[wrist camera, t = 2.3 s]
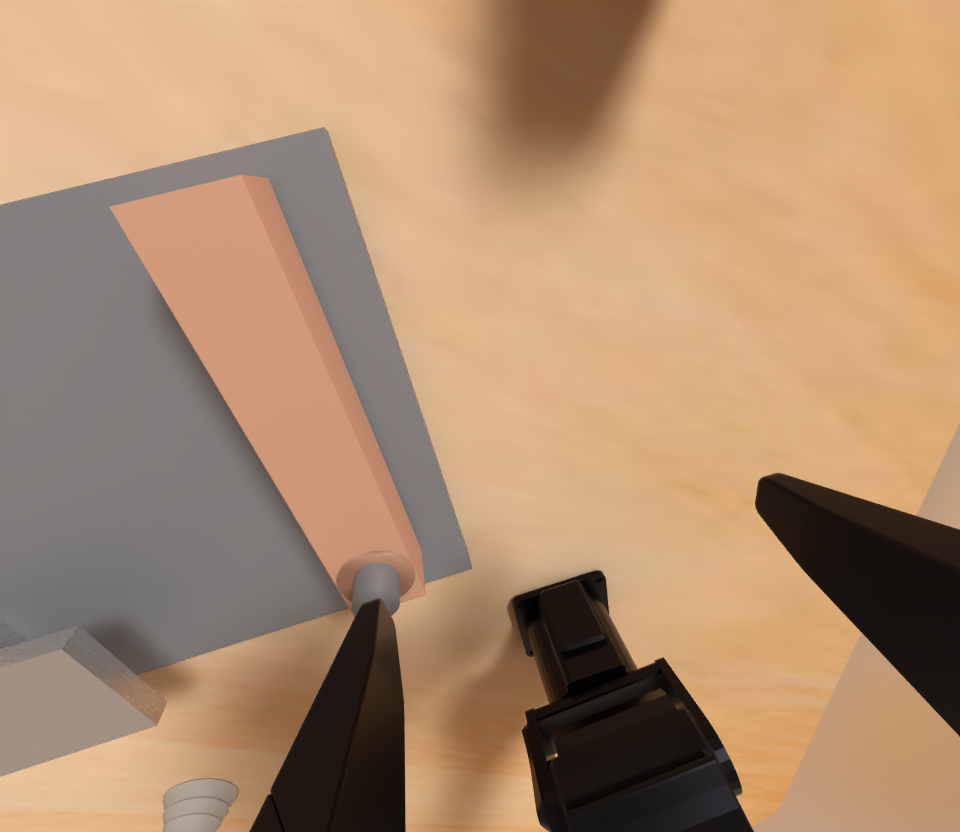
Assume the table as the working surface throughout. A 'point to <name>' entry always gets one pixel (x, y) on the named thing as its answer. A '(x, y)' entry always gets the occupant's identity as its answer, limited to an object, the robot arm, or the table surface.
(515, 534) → the table surface
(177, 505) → the board
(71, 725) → the keeper
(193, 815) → the chalice
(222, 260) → the link
